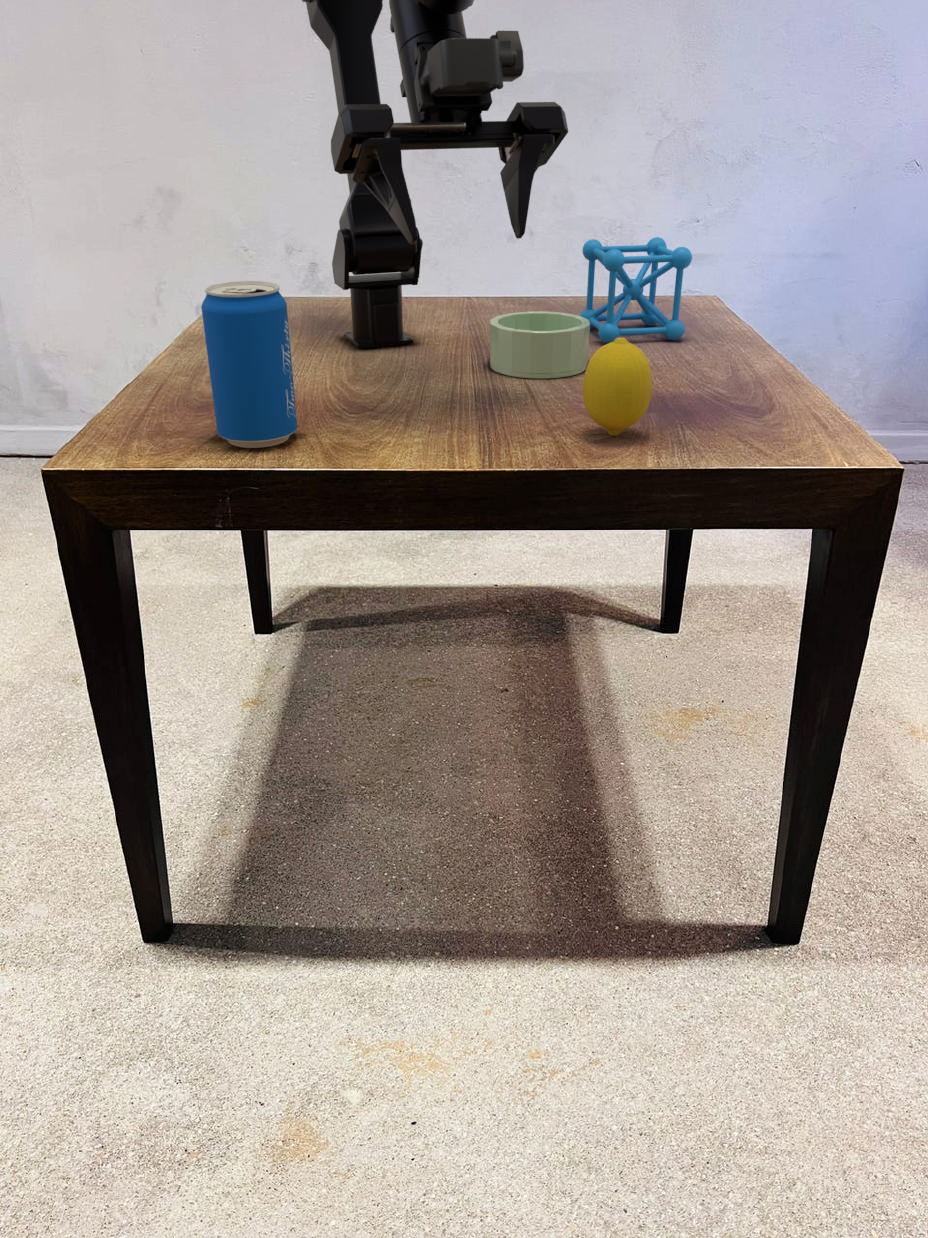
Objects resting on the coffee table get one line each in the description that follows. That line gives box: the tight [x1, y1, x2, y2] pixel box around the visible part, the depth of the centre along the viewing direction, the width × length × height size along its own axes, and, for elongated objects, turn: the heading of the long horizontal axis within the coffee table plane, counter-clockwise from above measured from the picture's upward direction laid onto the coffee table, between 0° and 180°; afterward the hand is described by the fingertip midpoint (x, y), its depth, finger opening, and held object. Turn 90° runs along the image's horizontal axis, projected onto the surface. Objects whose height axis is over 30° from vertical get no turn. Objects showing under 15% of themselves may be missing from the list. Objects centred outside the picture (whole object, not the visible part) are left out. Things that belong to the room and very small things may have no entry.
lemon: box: [582, 336, 653, 436], centre depth 79 cm, size 6×6×8 cm
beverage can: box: [201, 280, 298, 449], centre depth 78 cm, size 6×6×12 cm
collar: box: [489, 310, 591, 380], centre depth 100 cm, size 10×10×4 cm
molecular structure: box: [579, 236, 693, 345], centre depth 111 cm, size 10×10×10 cm
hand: (468, 239), depth 79 cm, fingers open, 9 cm apart
